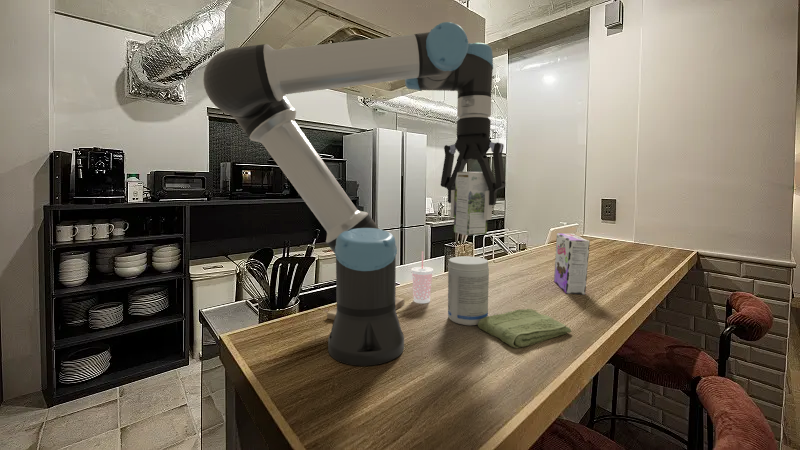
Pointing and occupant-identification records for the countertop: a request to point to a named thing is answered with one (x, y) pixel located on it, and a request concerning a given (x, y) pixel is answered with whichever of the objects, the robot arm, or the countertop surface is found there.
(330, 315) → the beech cutting board
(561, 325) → the washcloth
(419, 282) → the beverage cup
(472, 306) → the supplement tub
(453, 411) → the countertop surface
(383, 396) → the countertop surface
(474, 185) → the syrup box
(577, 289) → the candy box
